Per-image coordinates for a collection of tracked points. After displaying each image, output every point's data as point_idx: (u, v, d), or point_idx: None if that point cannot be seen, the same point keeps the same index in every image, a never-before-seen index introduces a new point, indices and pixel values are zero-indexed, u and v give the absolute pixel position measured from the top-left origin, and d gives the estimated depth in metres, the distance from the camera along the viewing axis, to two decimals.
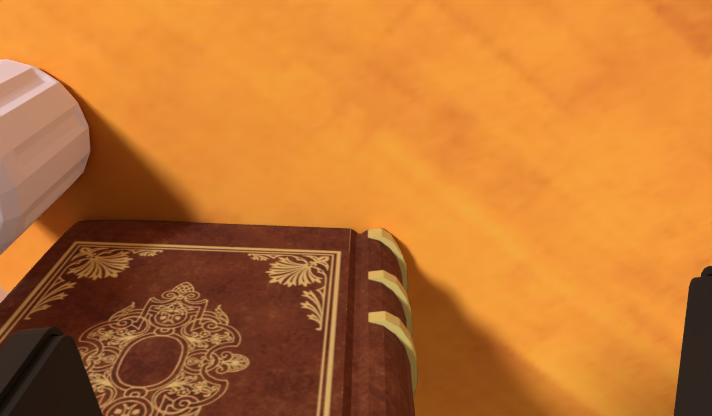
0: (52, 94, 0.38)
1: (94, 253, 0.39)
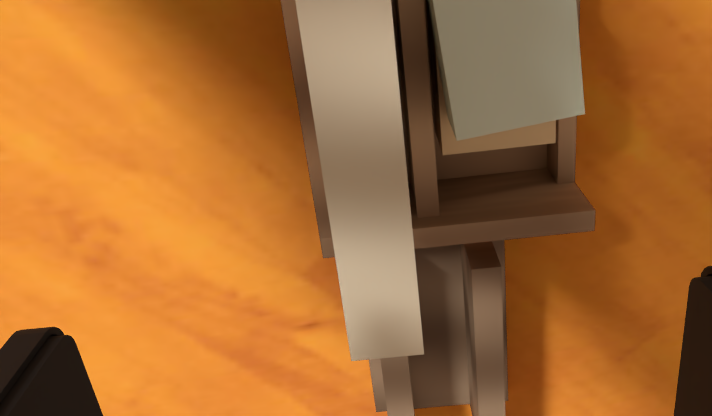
0: None
1: None
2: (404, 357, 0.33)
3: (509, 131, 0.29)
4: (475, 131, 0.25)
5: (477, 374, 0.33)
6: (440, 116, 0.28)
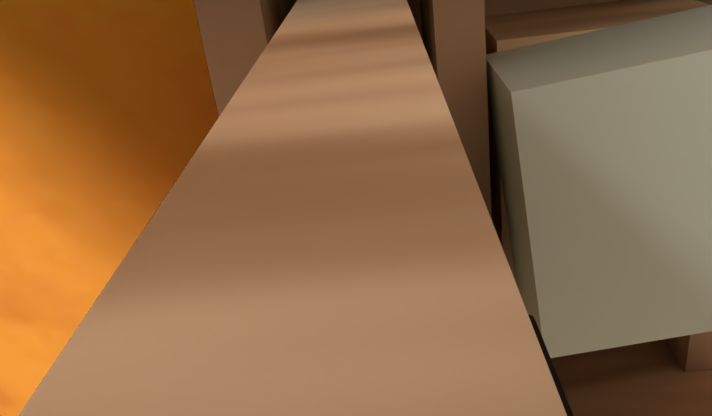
0: None
1: None
2: None
3: None
4: (580, 344, 0.14)
5: None
6: None
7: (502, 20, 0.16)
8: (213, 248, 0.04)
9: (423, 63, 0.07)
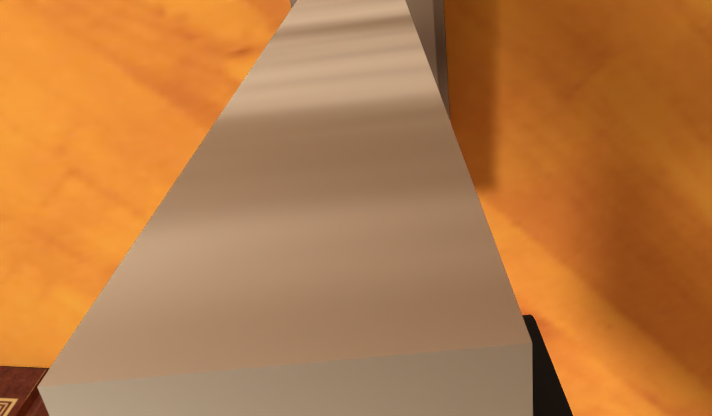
0: None
1: None
2: None
3: None
4: None
5: None
6: None
7: None
8: (237, 189, 0.04)
9: (416, 48, 0.07)
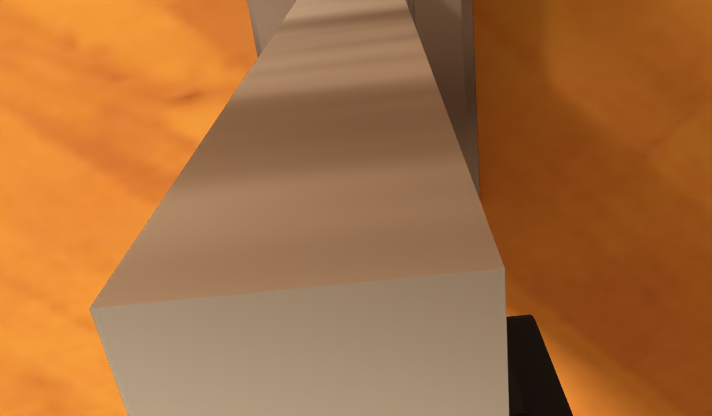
0: None
1: None
2: None
3: None
4: None
5: None
6: None
7: None
8: (251, 158, 0.05)
9: (412, 37, 0.08)
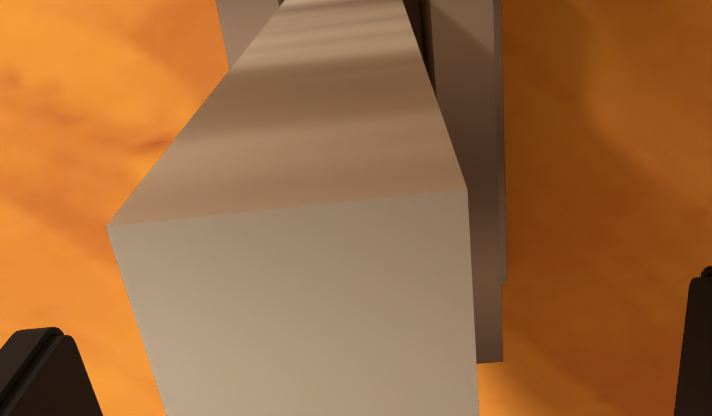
0: None
1: None
2: None
3: None
4: None
5: None
6: None
7: None
8: (248, 115, 0.05)
9: (402, 18, 0.08)
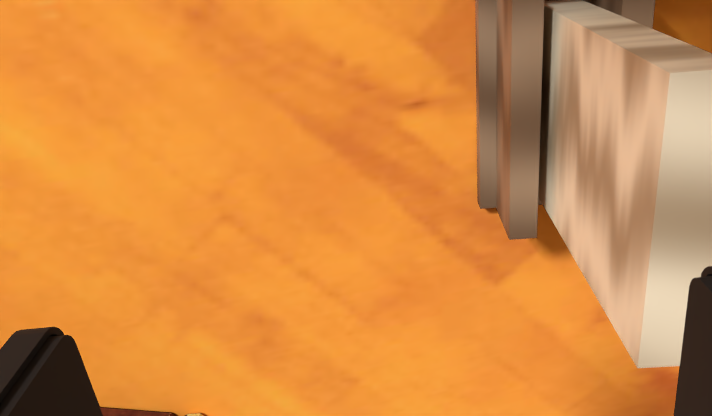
0: None
1: None
2: (537, 100, 0.30)
3: None
4: None
5: None
6: None
7: None
8: (661, 57, 0.19)
9: (661, 33, 0.23)
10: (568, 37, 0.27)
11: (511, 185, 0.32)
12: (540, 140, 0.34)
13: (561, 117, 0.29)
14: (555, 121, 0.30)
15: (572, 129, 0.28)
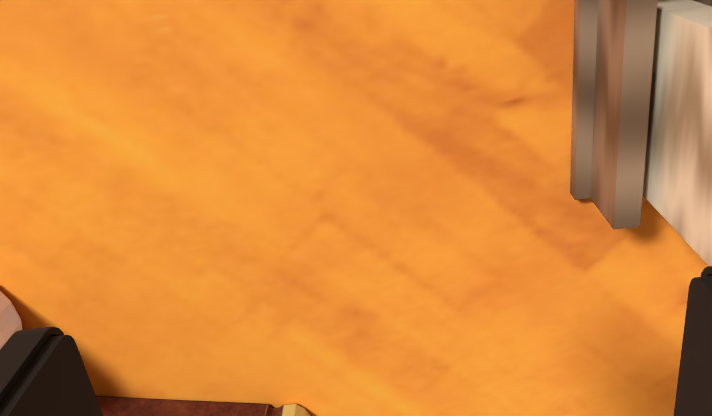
0: None
1: None
2: (646, 96, 0.32)
3: None
4: None
5: None
6: None
7: None
8: None
9: None
10: (686, 36, 0.29)
11: (618, 177, 0.34)
12: None
13: (673, 112, 0.31)
14: (663, 116, 0.32)
15: (690, 124, 0.29)
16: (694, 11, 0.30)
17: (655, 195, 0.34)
